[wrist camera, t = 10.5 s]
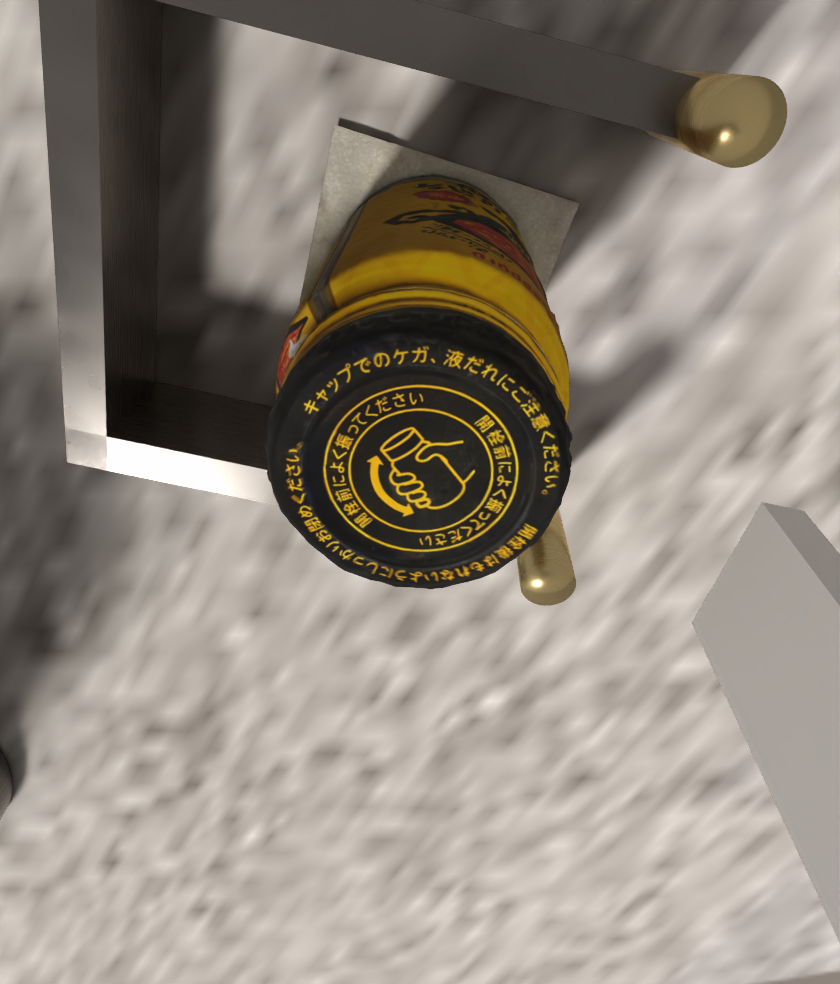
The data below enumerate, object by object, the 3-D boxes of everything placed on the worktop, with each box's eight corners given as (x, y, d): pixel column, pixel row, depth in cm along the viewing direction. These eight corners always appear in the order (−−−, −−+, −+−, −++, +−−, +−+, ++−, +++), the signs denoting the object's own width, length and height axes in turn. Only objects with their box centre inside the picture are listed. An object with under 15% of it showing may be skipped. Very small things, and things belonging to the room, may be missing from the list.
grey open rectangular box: (120, 410, 24) (33, 504, 19) (114, -84, 17) (-28, -142, 12) (542, 500, 26) (565, 609, 21) (705, 77, 18) (803, 87, 13)
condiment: (578, 201, 20) (706, 352, 10) (484, 445, 25) (508, 719, 15) (335, 123, 19) (209, 202, 9) (283, 390, 24) (159, 640, 14)
